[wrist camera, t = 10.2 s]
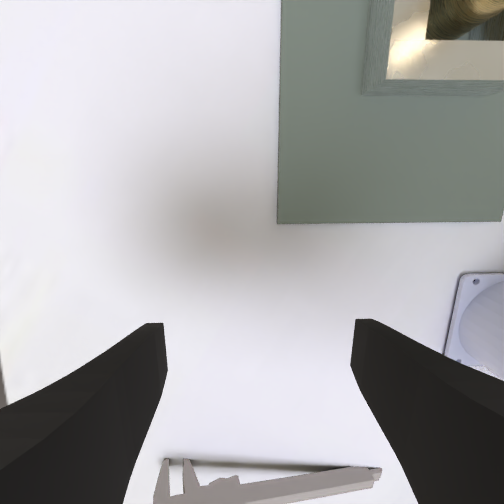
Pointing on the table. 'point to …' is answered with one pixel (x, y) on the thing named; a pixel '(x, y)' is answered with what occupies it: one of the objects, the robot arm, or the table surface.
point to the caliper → (263, 487)
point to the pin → (459, 17)
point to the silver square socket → (428, 55)
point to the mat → (375, 134)
